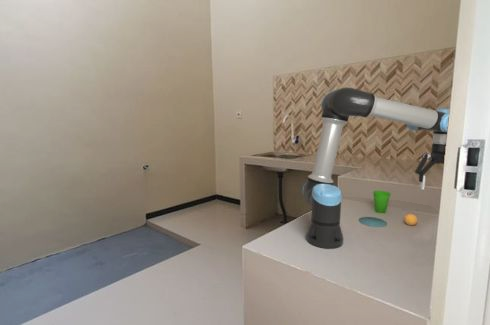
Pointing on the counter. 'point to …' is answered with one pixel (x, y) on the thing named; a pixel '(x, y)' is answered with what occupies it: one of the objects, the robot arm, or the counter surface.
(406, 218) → the ball
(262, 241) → the counter surface
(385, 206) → the green tapered cylinder
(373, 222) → the teal ellipsoid
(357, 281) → the counter surface
